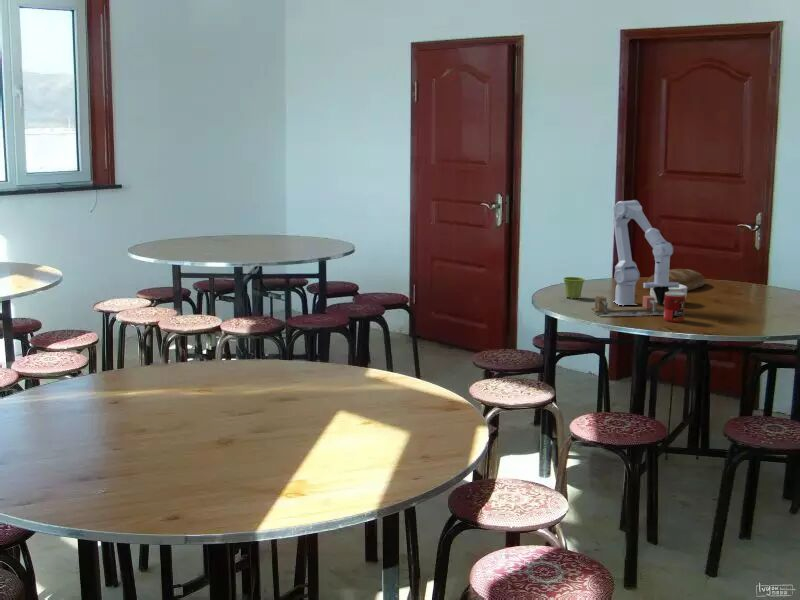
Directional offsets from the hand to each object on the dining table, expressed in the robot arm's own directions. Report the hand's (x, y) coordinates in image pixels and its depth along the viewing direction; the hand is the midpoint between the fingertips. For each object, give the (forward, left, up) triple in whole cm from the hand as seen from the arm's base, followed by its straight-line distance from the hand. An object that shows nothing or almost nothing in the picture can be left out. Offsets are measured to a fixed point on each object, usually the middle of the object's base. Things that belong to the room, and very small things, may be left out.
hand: (660, 305), depth 408 cm
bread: (-56, +29, -3) cm, 63 cm away
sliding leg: (+2, -5, -1) cm, 6 cm away
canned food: (+18, -1, -3) cm, 18 cm away
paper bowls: (-17, +10, -3) cm, 20 cm away
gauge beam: (+2, -13, -3) cm, 14 cm away
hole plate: (+6, -13, -3) cm, 15 cm away
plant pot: (-33, -27, -3) cm, 43 cm away
